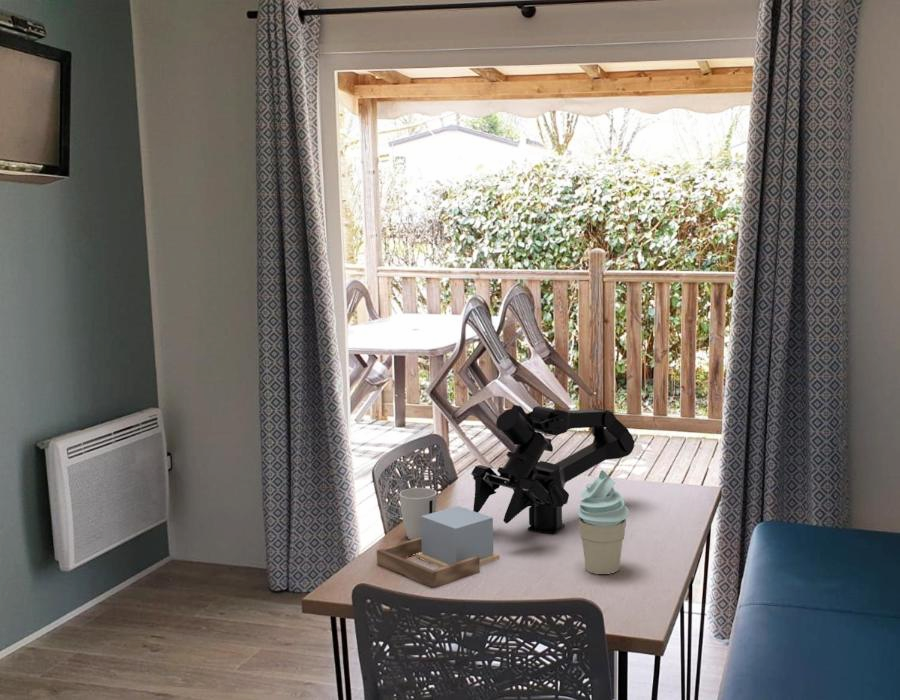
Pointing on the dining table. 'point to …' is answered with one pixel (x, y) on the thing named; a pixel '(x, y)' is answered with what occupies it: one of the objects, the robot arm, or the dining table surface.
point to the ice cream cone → (602, 525)
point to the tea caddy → (456, 537)
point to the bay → (396, 562)
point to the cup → (416, 508)
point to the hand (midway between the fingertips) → (489, 517)
